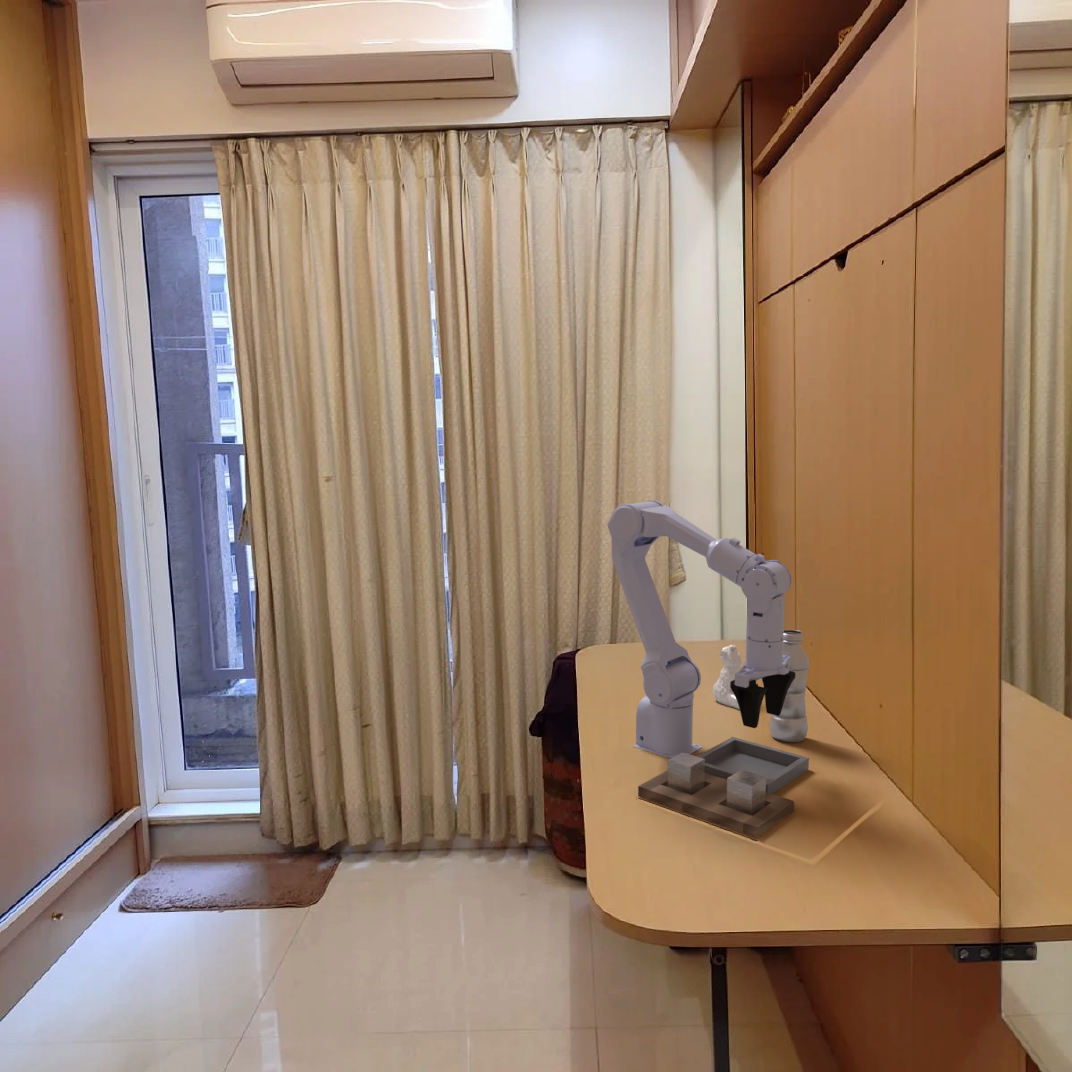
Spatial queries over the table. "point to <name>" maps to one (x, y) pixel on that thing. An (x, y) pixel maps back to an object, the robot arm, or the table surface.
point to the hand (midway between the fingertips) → (762, 720)
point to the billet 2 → (746, 792)
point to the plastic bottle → (793, 693)
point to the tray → (754, 762)
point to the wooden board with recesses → (716, 805)
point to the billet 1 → (686, 773)
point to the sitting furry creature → (727, 676)
